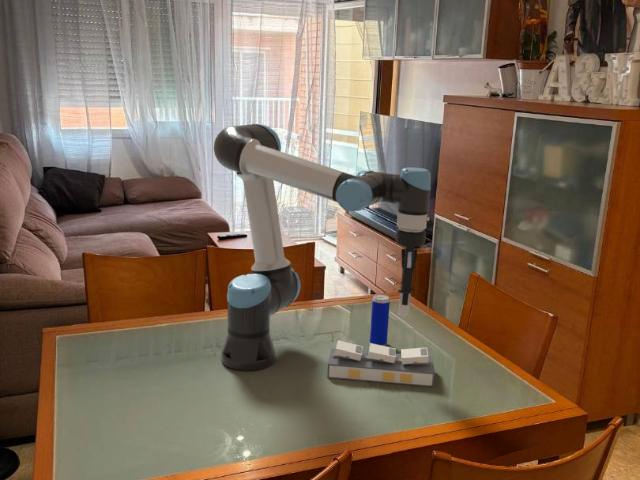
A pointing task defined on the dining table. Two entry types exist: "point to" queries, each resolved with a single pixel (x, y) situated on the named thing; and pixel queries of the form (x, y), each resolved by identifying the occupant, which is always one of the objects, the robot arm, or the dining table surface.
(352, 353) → the plate
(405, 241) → the robot arm
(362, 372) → the switch console
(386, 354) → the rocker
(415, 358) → the rocker
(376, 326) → the beverage can
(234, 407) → the dining table surface
